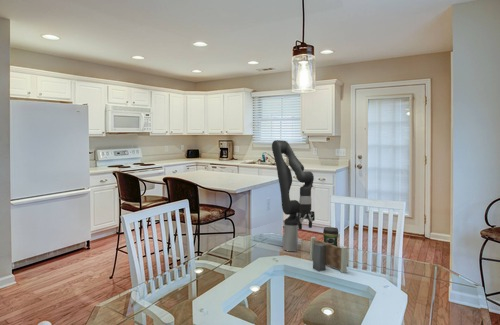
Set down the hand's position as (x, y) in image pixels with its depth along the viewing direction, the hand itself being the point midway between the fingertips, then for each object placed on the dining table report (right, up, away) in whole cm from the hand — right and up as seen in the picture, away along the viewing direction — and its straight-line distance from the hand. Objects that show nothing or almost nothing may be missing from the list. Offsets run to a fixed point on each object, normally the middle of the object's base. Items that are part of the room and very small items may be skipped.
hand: (305, 228), depth 210 cm
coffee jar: (+16, -18, 0) cm, 24 cm away
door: (+10, -17, -18) cm, 27 cm away
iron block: (+4, -18, -24) cm, 30 cm away
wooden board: (+10, -18, -19) cm, 28 cm away
